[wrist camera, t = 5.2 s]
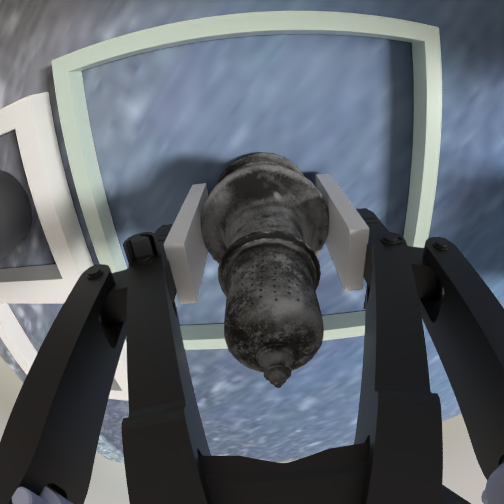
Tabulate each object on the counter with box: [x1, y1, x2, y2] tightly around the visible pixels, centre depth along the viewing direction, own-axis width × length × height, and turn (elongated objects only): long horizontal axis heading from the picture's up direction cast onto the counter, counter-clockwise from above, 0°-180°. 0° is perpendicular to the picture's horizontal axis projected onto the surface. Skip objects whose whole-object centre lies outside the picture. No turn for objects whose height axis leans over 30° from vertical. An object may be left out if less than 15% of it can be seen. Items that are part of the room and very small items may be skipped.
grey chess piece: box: [201, 153, 329, 388], centre depth 12 cm, size 6×6×12 cm
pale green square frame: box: [52, 11, 442, 350], centre depth 17 cm, size 20×20×2 cm
